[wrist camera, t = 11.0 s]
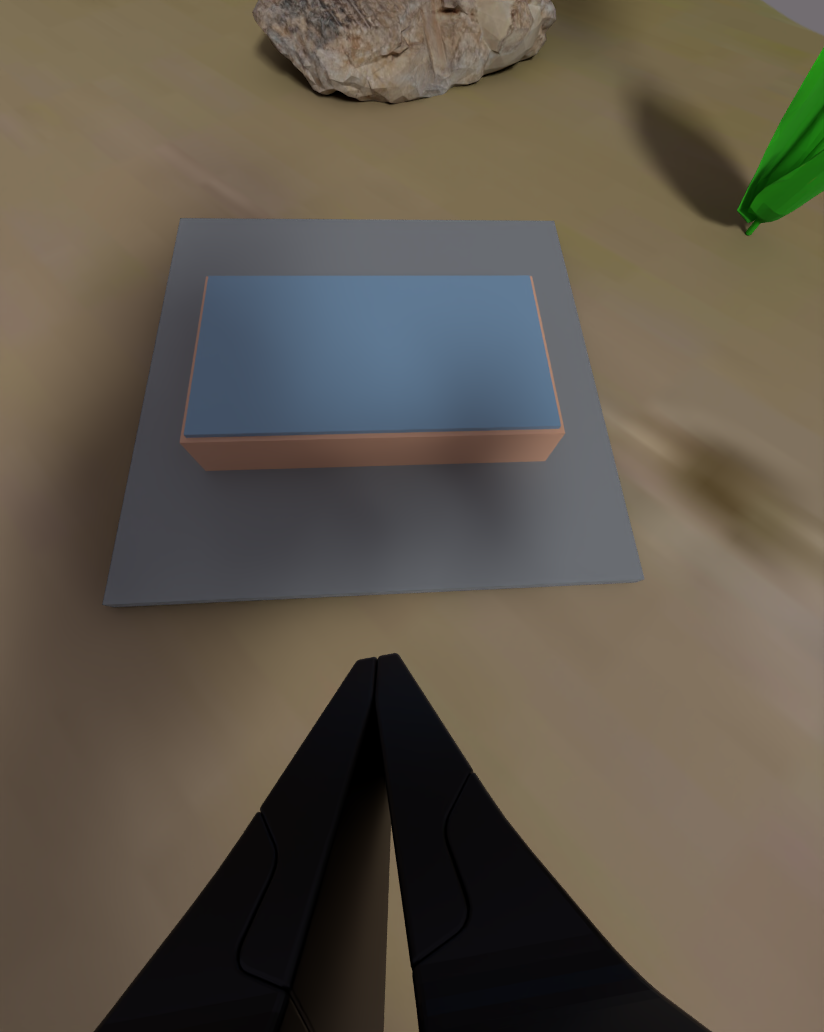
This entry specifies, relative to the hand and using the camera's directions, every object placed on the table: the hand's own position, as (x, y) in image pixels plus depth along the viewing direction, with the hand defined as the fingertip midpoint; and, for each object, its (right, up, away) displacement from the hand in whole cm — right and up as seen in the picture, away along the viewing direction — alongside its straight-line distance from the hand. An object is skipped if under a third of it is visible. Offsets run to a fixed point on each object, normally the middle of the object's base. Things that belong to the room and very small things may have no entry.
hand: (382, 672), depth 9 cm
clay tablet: (0, +36, +22) cm, 42 cm away
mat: (-1, +10, +11) cm, 15 cm away
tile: (-1, +6, +8) cm, 10 cm away
